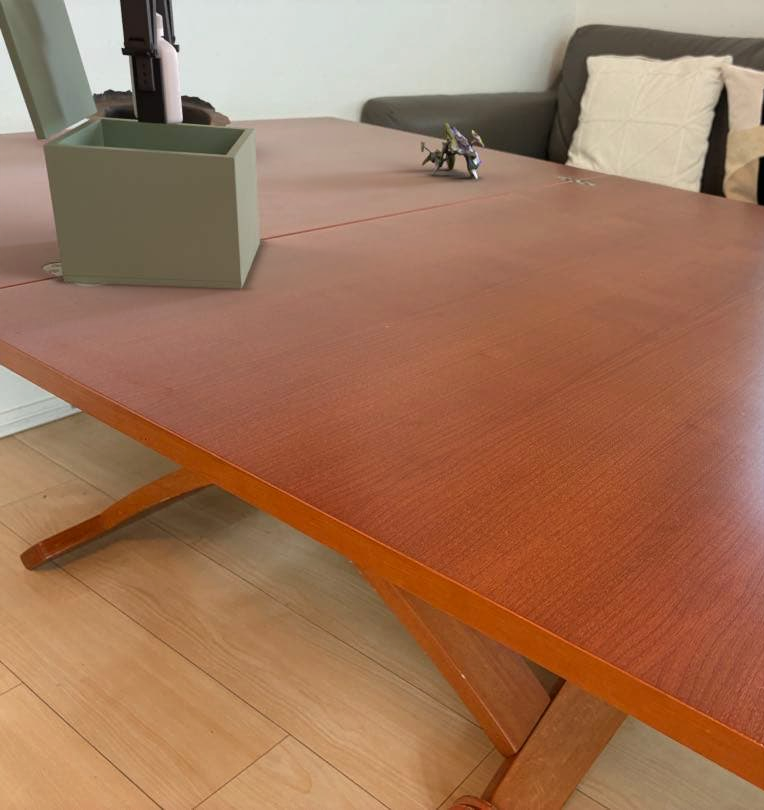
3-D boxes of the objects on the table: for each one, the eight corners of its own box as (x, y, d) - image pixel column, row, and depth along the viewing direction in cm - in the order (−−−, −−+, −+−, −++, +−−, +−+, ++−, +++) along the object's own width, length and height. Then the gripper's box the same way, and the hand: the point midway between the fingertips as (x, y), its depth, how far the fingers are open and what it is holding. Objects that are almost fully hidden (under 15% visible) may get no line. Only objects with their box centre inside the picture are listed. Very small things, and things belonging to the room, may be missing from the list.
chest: (260, 244, 110) (254, 128, 103) (241, 291, 94) (234, 157, 87) (109, 237, 106) (94, 116, 100) (64, 284, 90) (42, 144, 84)
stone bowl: (129, 132, 164) (128, 81, 160) (253, 158, 163) (255, 109, 159) (45, 150, 142) (41, 92, 138) (187, 181, 141) (188, 123, 137)
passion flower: (470, 208, 161) (494, 164, 152) (415, 196, 157) (437, 150, 147) (465, 164, 166) (488, 119, 157) (412, 151, 162) (432, 104, 153)
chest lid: (42, -73, 91) (33, -72, 90) (-27, -81, 75) (-37, -81, 75) (97, 112, 99) (90, 112, 99) (46, 139, 84) (37, 140, 84)
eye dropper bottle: (175, 116, 96) (165, 0, 91) (185, 125, 92) (175, 3, 87) (133, 115, 94) (120, -4, 89) (141, 124, 90) (128, -1, 84)
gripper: (156, -136, 75) (178, 135, 86) (193, -118, 91) (208, 109, 101) (64, -148, 74) (98, 129, 84) (117, -127, 90) (140, 104, 100)
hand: (158, 117), depth 93 cm, fingers closed on eye dropper bottle, 5 cm apart
